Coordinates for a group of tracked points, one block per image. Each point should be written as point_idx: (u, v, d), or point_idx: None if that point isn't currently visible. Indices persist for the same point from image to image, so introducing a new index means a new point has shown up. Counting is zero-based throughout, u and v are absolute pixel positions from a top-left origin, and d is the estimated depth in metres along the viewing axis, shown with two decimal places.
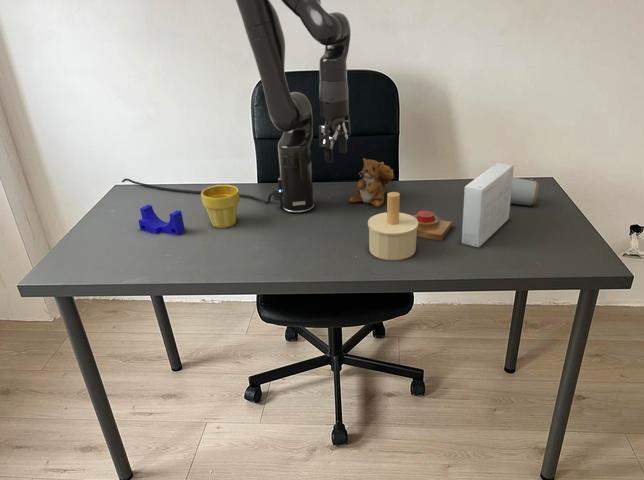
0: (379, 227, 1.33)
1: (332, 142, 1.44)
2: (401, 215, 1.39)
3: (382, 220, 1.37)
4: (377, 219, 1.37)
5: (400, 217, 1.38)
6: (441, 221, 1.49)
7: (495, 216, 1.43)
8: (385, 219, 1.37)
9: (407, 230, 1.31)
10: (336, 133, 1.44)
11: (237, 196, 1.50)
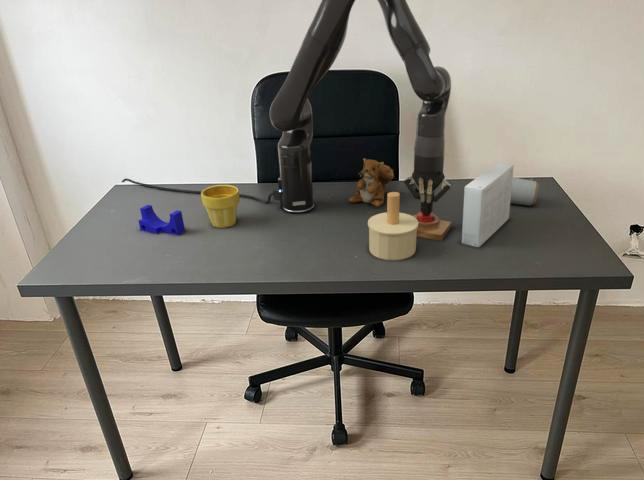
0: (379, 227, 1.33)
1: (425, 196, 1.43)
2: (401, 215, 1.39)
3: (382, 220, 1.37)
4: (377, 219, 1.37)
5: (400, 217, 1.38)
6: (441, 221, 1.49)
7: (495, 216, 1.43)
8: (385, 219, 1.37)
9: (407, 230, 1.31)
10: None
11: (237, 196, 1.50)
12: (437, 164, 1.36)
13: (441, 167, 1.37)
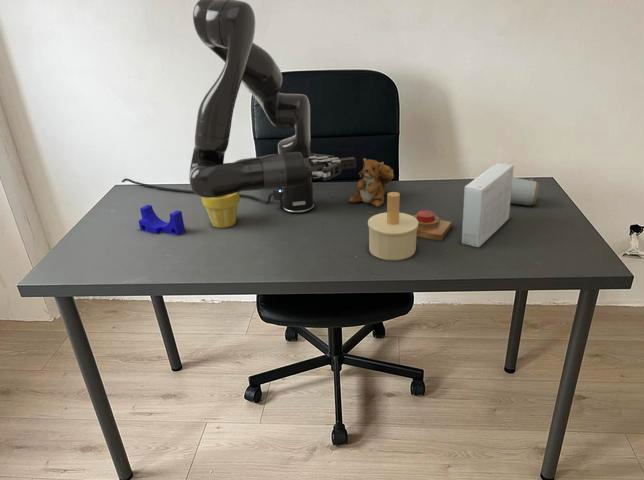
0: (379, 227, 1.33)
1: None
2: (401, 215, 1.39)
3: (382, 220, 1.37)
4: (377, 219, 1.37)
5: (400, 217, 1.38)
6: (441, 221, 1.49)
7: (495, 216, 1.43)
8: (385, 219, 1.37)
9: (407, 230, 1.31)
10: None
11: (237, 196, 1.50)
12: (295, 183, 1.20)
13: (300, 177, 1.19)
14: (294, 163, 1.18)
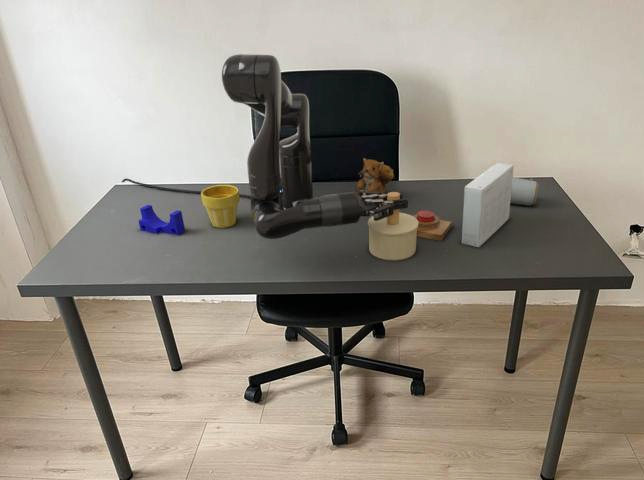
0: (379, 227, 1.33)
1: None
2: (401, 215, 1.39)
3: (382, 220, 1.37)
4: None
5: (400, 217, 1.38)
6: (441, 221, 1.49)
7: (495, 216, 1.43)
8: (385, 219, 1.37)
9: (407, 230, 1.31)
10: None
11: (237, 196, 1.50)
12: (350, 221, 1.29)
13: (355, 216, 1.28)
14: (349, 204, 1.26)
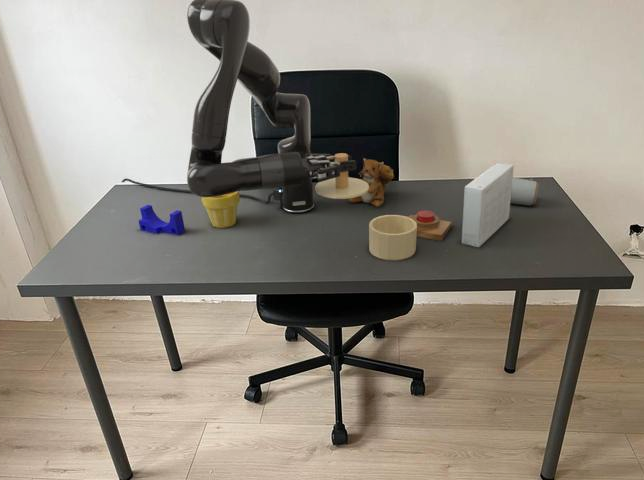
0: (326, 191, 1.24)
1: None
2: (352, 180, 1.30)
3: (331, 184, 1.28)
4: (326, 183, 1.29)
5: (350, 182, 1.29)
6: (441, 221, 1.49)
7: (495, 215, 1.43)
8: (334, 183, 1.28)
9: (355, 193, 1.23)
10: None
11: (237, 196, 1.50)
12: (293, 183, 1.20)
13: (298, 178, 1.19)
14: (291, 163, 1.18)
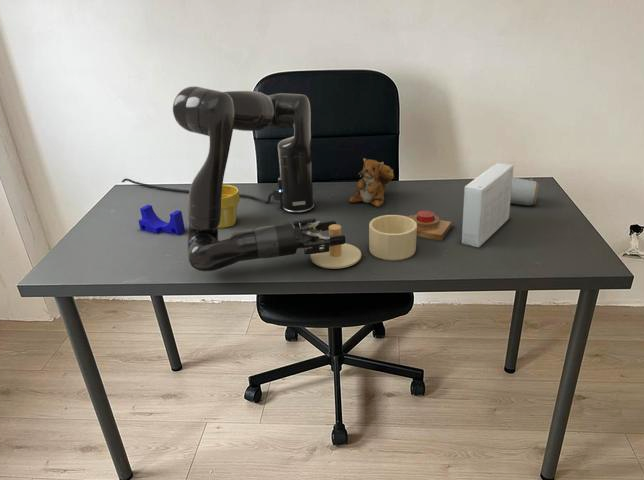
0: (321, 259, 1.33)
1: None
2: (345, 246, 1.39)
3: (325, 252, 1.36)
4: None
5: (344, 248, 1.38)
6: (441, 221, 1.49)
7: (495, 215, 1.43)
8: (329, 251, 1.37)
9: (348, 263, 1.31)
10: None
11: (237, 196, 1.50)
12: (287, 253, 1.28)
13: (292, 248, 1.27)
14: (285, 236, 1.26)
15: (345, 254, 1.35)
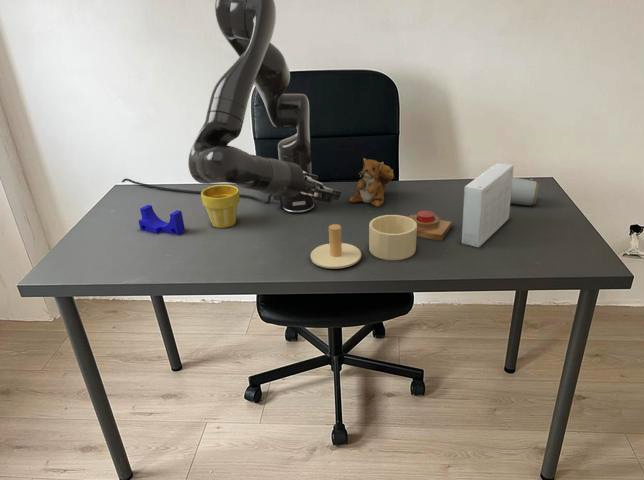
0: (321, 259, 1.33)
1: None
2: (345, 246, 1.39)
3: (325, 252, 1.36)
4: (321, 250, 1.37)
5: (344, 248, 1.38)
6: (441, 221, 1.49)
7: (495, 215, 1.43)
8: (329, 251, 1.37)
9: (348, 263, 1.31)
10: None
11: (237, 196, 1.50)
12: (289, 194, 1.18)
13: (297, 190, 1.18)
14: (297, 175, 1.16)
15: (345, 254, 1.35)
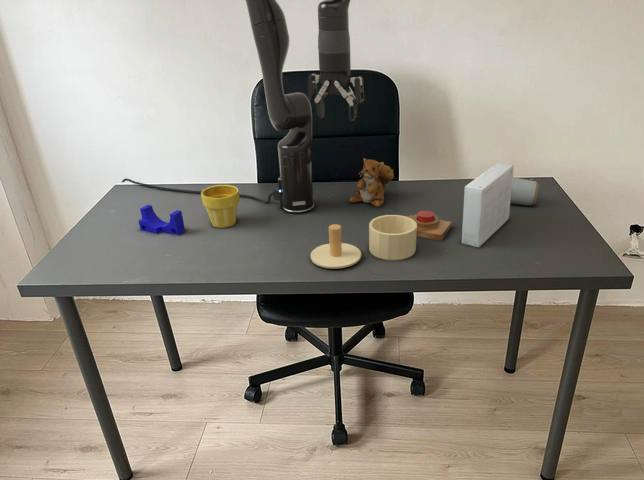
0: (321, 259, 1.33)
1: (318, 96, 1.34)
2: (345, 246, 1.39)
3: (325, 252, 1.36)
4: (321, 250, 1.37)
5: (344, 248, 1.38)
6: (441, 221, 1.49)
7: (495, 215, 1.43)
8: (329, 251, 1.37)
9: (348, 263, 1.31)
10: (323, 88, 1.32)
11: (237, 196, 1.50)
12: (341, 62, 1.26)
13: (347, 66, 1.27)
14: None
15: (345, 254, 1.35)
